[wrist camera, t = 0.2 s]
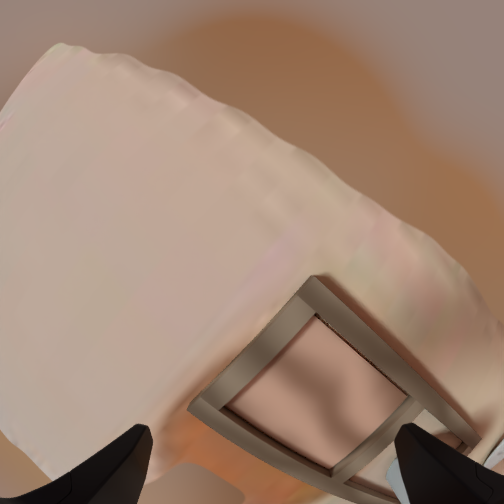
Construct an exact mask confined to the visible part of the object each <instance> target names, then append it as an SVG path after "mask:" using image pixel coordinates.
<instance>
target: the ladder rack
mask: <svg viewBox="0 0 504 504" xmlns="http://www.w3.org/2000/svg"><path fill="white" fill-rule="evenodd" d="M315 312H316V313H317V314H319V315H320V316H321V317H322V318H323V319H324V320H325V321H326V322H328V323H329V324H330V325H331V326H332V327H333V328H334V329H336V330H337V331H338V332H339V333H340V334H341V335H342V336H343V337H345V338H346V339H347V340H348V341H349V342H350V343H351V344H353V345H354V346H355V347H356V348H357V349H358V350H359V351H360V352H362V353H363V354H364V355H365V356H366V357H367V358H368V359H370V360H371V361H372V362H373V363H374V364H375V365H376V366H377V367H379V368H380V369H381V370H382V371H383V372H384V373H385V374H387V375H388V376H389V377H390V378H391V379H392V380H393V381H395V382H396V383H397V384H398V385H399V386H400V387H401V388H402V389H404V390H405V391H406V392H407V393H408V394H409V396H408V397H407V396H406V395H405V394H404V393H403V392H401V391H400V390H399V389H398V388H397V387H396V386H394V385H393V384H392V383H391V382H390V381H389V380H388V379H386V378H385V377H384V376H383V375H382V374H381V373H379V372H378V371H377V370H376V369H375V368H374V367H373V366H371V365H370V364H369V363H368V362H367V361H366V360H365V359H363V358H362V357H361V356H360V355H359V354H358V353H357V352H355V351H354V350H353V349H352V348H351V347H350V346H349V345H347V344H346V343H345V342H344V341H343V340H342V339H341V338H339V337H338V336H337V335H336V334H335V333H334V332H333V331H331V330H330V329H329V328H328V327H327V326H326V325H325V324H323V323H322V322H321V321H320V320H319V319H318V318H317V317H315V316H314V314H315ZM401 403H402V404H401ZM400 404H401V405H400ZM224 405H226V406H227V407H228V408H230V409H231V410H233V411H234V412H235V413H237V414H238V415H240V416H241V417H242V418H244V419H245V420H247V421H248V422H250V423H251V424H253V425H254V426H256V427H257V428H259V429H260V430H262V431H263V432H265V433H266V434H268V435H269V436H271V437H273V438H274V439H276V440H277V441H279V442H281V443H282V444H284V445H286V446H287V447H289V448H291V449H293V450H294V451H296V452H298V453H299V454H301V455H303V456H305V457H307V458H308V459H310V460H312V461H314V462H316V463H318V464H320V465H322V466H324V467H325V468H327V469H329V470H327V469H325V468H323V467H321V466H319V465H317V464H315V463H313V462H311V461H310V460H308V459H306V458H304V457H302V456H301V455H299V454H297V453H295V452H293V451H292V450H290V449H288V448H287V447H285V446H283V445H282V444H280V443H278V442H277V441H275V440H273V439H272V438H270V437H269V436H267V435H265V434H264V433H262V432H261V431H259V430H258V429H256V428H255V427H253V426H252V425H250V424H249V423H247V422H246V421H244V420H243V419H241V418H240V417H239V416H237V415H236V414H234V413H233V412H232V411H230V410H229V409H227V408H226V407H225V406H224ZM399 405H400V406H399ZM424 408H425V409H426V410H428V411H429V412H430V413H431V414H432V415H433V416H434V417H436V418H437V419H438V420H439V421H440V422H441V423H442V424H444V425H445V426H446V427H447V428H448V429H449V430H450V431H452V432H453V433H454V434H455V435H456V436H457V437H458V438H460V439H461V440H462V441H463V443H462V444H461V445H460V446H459V447H458V448H457V449H456V450H457V451H458V452H460V453H462V454H463V455H465V456H468V454H469V453H470V452H471V451H472V450H473V449H474V448H475V446H476V445H477V444H478V443H479V442H480V440H481V439H482V438H481V437H480V436H479V435H478V434H477V433H476V432H475V431H474V430H473V429H472V428H471V427H470V426H469V425H468V424H467V423H466V422H465V421H464V419H463V418H462V417H461V416H460V415H459V414H458V413H457V412H456V411H455V410H454V409H453V408H452V407H451V406H450V405H449V404H448V403H447V402H446V401H445V400H444V399H443V398H442V397H441V396H440V395H439V394H438V393H437V392H436V391H435V390H434V389H433V388H432V387H431V386H430V385H429V384H428V383H427V382H426V381H425V380H424V379H423V378H422V377H421V376H420V375H419V374H418V373H417V372H416V371H415V370H413V369H412V368H411V367H410V366H409V365H408V364H407V363H406V362H405V361H404V360H403V359H402V358H401V357H400V356H399V355H398V354H397V353H396V352H395V351H394V350H393V349H392V348H391V347H390V346H389V345H388V344H387V343H385V342H384V341H383V340H382V339H381V338H380V337H379V336H378V335H377V334H376V333H375V332H374V331H373V330H372V329H371V328H370V327H369V326H368V325H366V324H365V323H364V322H363V321H362V320H361V319H360V318H359V317H358V316H357V315H356V314H355V313H354V312H353V311H352V310H350V309H349V308H348V307H347V306H346V305H345V304H344V303H343V302H342V301H341V300H340V299H339V298H337V297H336V296H335V295H334V294H333V293H332V292H331V291H330V290H329V289H328V288H327V287H326V286H324V285H323V284H322V283H321V282H320V281H319V280H318V279H317V278H316V277H315V276H310V277H309V278H308V279H307V280H306V282H305V283H304V284H303V285H302V286H301V287H300V288H299V290H298V291H297V292H296V293H295V294H294V295H293V296H292V298H291V299H290V300H289V301H288V302H287V303H286V304H285V305H284V306H283V308H282V309H281V310H280V311H279V312H278V313H277V314H276V315H275V316H274V317H273V319H272V320H271V321H270V322H269V323H268V324H267V325H266V326H265V327H264V328H263V329H262V330H261V332H260V333H259V334H258V335H257V336H256V337H255V338H254V339H253V340H252V341H251V342H250V343H249V344H248V345H247V346H246V347H245V348H244V349H243V350H242V351H241V353H240V354H239V355H238V356H237V357H236V358H235V359H234V360H233V361H232V362H231V363H230V364H229V365H228V366H227V367H226V368H225V369H224V370H223V371H222V372H221V373H220V374H219V375H218V376H217V377H216V378H215V379H214V380H213V381H212V382H211V383H210V384H209V385H208V386H207V387H206V388H205V389H204V390H203V391H201V392H200V393H199V394H198V395H197V396H196V397H195V398H194V399H193V400H192V401H191V402H190V404H189V406H188V408H187V411H189V412H190V413H191V414H193V415H194V416H195V417H197V418H198V419H199V420H201V421H202V422H203V423H205V424H206V425H208V426H209V427H210V428H212V429H213V430H215V431H216V432H218V433H219V434H221V435H222V436H223V437H225V438H226V439H228V440H230V441H231V442H233V443H234V444H236V445H237V446H239V447H240V448H242V449H244V450H245V451H247V452H249V453H250V454H252V455H254V456H255V457H257V458H259V459H261V460H262V461H264V462H266V463H268V464H269V465H271V466H273V467H275V468H277V469H279V470H281V471H282V472H284V473H286V474H288V475H290V476H292V477H294V478H296V479H298V480H301V481H303V482H305V483H307V484H309V485H311V486H314V487H316V488H318V489H320V490H323V491H325V492H328V493H330V494H332V495H335V496H337V497H340V498H343V499H345V500H348V501H351V502H354V503H357V504H401V502H400V501H399V500H398V499H395V498H392V497H389V496H387V495H384V494H381V493H379V492H376V491H374V490H371V489H369V488H366V487H364V486H361V485H359V484H357V483H355V482H352V481H350V480H348V479H349V478H351V477H352V476H353V475H355V474H356V473H357V472H358V471H360V470H361V469H362V468H363V467H364V466H366V465H367V464H368V463H369V462H370V461H372V460H373V459H374V458H375V457H376V456H377V455H379V454H380V453H381V452H382V451H383V450H384V449H385V448H386V447H387V446H388V445H390V444H391V443H392V442H393V441H394V440H395V437H396V435H397V433H398V431H399V429H400V427H401V426H402V425H403V424H406V423H412V421H413V420H414V419H415V418H416V417H417V416H418V415H419V414H420V413H421V412H422V410H423V409H424ZM367 437H368V438H367ZM366 438H367V439H366ZM357 446H358V447H357ZM350 452H351V453H350ZM344 457H345V458H344ZM339 461H340V462H339ZM334 465H335V466H334Z"/></svg>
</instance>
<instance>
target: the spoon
mask: <svg viewBox="0 0 504 504" xmlns="http://www.w3.org/2000/svg"><path fill="white" fill-rule="evenodd" d="M503 458H504V439H503V440H502V441H501V442H500V444H499V445H498V446H497V447H496V448H495V450H494V451H493V452H492V453H491V454H490V456H489V457H488V458H487V460H486V461H485V463H484V465H483V466H484V467H486V468H488V469H491V468H492V467H494V466H495V465H496V464H498V463H499V462H500V461H501V460H502V459H503Z"/></svg>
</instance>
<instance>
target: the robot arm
mask: <svg viewBox="0 0 504 504" xmlns="http://www.w3.org/2000/svg"><path fill="white" fill-rule="evenodd" d="M394 443H395V448H396V453H397V458H398V463H399V468H400V473H401V477H402V480H403V483H404V486H405V489H406V493H407V496H408V499H409V503H410V504H504V475H501V474H499V473H496V472H494V471H492V470H490V469H488V468H486V467H484V466H482V465H481V464H479V463H477V462H475V461H474V460H472V459H470V458H468V457H467V456H465V455H463V454H462V453H460V452H458V451H457V450H455V449H454V448H452V447H450V446H449V445H447V444H445V443H444V442H442V441H441V440H439V439H438V438H436V437H434V436H433V435H431V434H430V433H428V432H427V431H425V430H423V429H422V428H420V427H419V426H417V425H416V424H414V423H406V424H403V425H402V426H401V427H400V429H399V431H398V433H397V435H396V437H395V440H394ZM152 446H153V439H152V436H151V432H150V429H149V427H148V426H147V425H143V424H135V425H134V426H133V427H131V428H130V429H129V430H127V431H126V432H125V433H123V434H122V435H121V436H119V437H118V438H117V439H115V440H114V441H112V442H111V443H110V444H108V445H107V446H106V447H104V448H103V449H101V450H100V451H98V452H97V453H96V454H94V455H93V456H91V457H90V458H88V459H87V460H85V461H84V462H83V463H81V464H80V465H78V466H77V467H75V468H74V469H72V470H71V471H70V472H67V473H66V474H64V475H63V476H61V477H59V478H58V479H56V480H54V481H53V482H51V483H49V484H47V485H44V486H42V487H40V488H38V489H35V490H33V491H31V492H28V493H26V494H24V495H21V496H18V497H14V498H0V504H137V502H138V499H139V496H140V493H141V490H142V488H143V485H144V482H145V479H146V475H147V470H148V465H149V460H150V455H151V450H152Z"/></svg>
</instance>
